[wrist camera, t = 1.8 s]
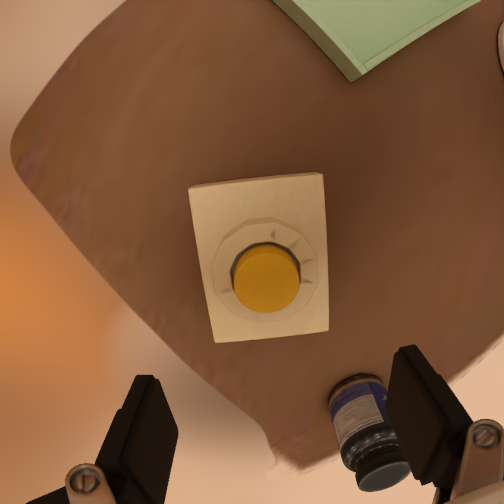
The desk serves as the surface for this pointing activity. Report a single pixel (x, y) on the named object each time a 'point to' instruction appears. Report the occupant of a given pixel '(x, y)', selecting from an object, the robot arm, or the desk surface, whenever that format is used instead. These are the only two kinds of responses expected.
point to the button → (266, 279)
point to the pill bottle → (367, 433)
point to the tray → (367, 27)
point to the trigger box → (255, 234)
